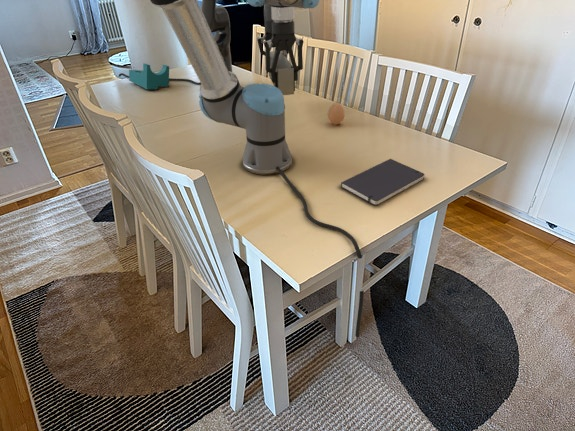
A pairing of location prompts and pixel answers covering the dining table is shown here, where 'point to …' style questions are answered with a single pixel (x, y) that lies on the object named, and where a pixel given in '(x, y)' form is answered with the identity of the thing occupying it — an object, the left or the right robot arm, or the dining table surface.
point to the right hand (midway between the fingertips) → (284, 90)
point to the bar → (283, 74)
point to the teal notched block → (150, 77)
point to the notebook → (382, 181)
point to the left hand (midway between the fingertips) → (276, 64)
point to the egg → (336, 113)
